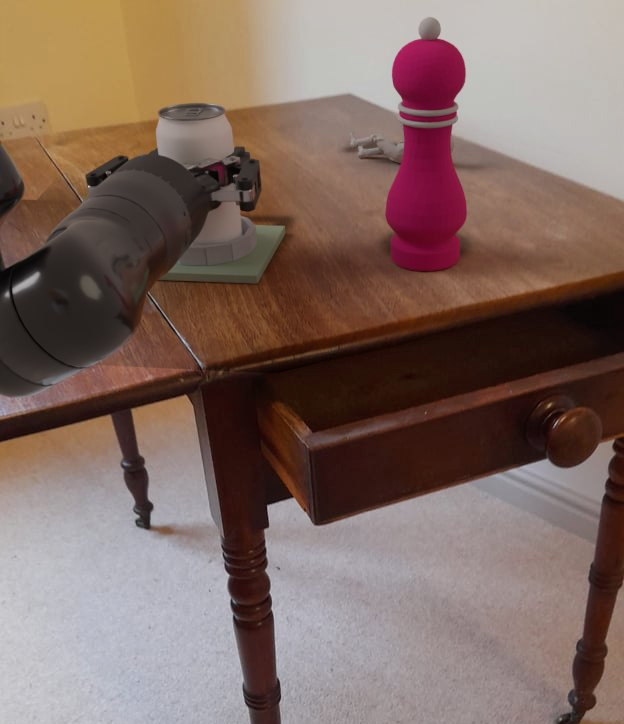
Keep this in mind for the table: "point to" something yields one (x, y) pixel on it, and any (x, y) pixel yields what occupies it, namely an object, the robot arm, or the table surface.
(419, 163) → the pepper mill
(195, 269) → the dock pad
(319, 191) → the table surface
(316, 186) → the table surface
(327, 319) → the table surface
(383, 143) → the soldier figure
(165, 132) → the can
